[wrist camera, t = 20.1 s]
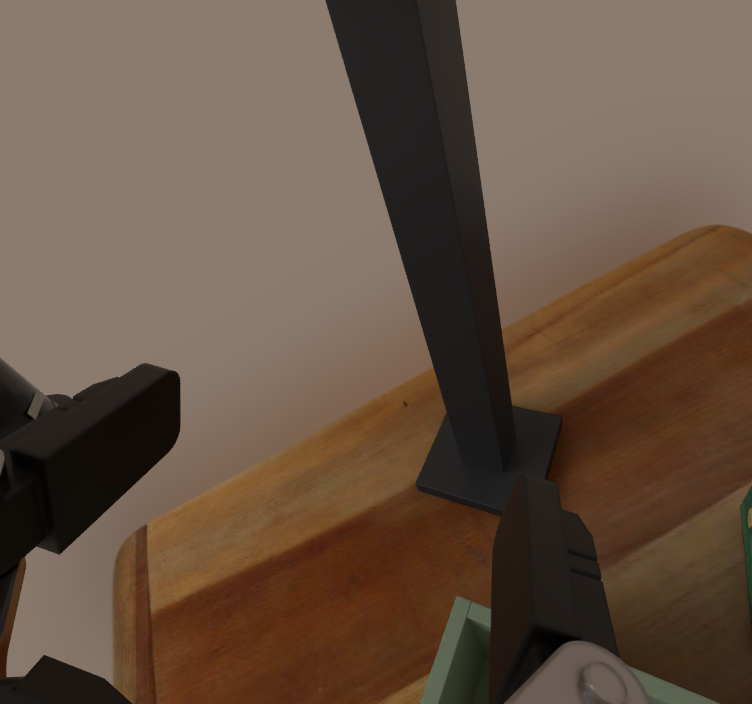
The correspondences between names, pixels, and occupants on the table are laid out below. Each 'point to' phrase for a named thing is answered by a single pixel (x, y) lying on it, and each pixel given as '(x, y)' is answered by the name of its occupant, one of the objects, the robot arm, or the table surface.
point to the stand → (442, 239)
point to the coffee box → (748, 540)
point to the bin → (472, 664)
